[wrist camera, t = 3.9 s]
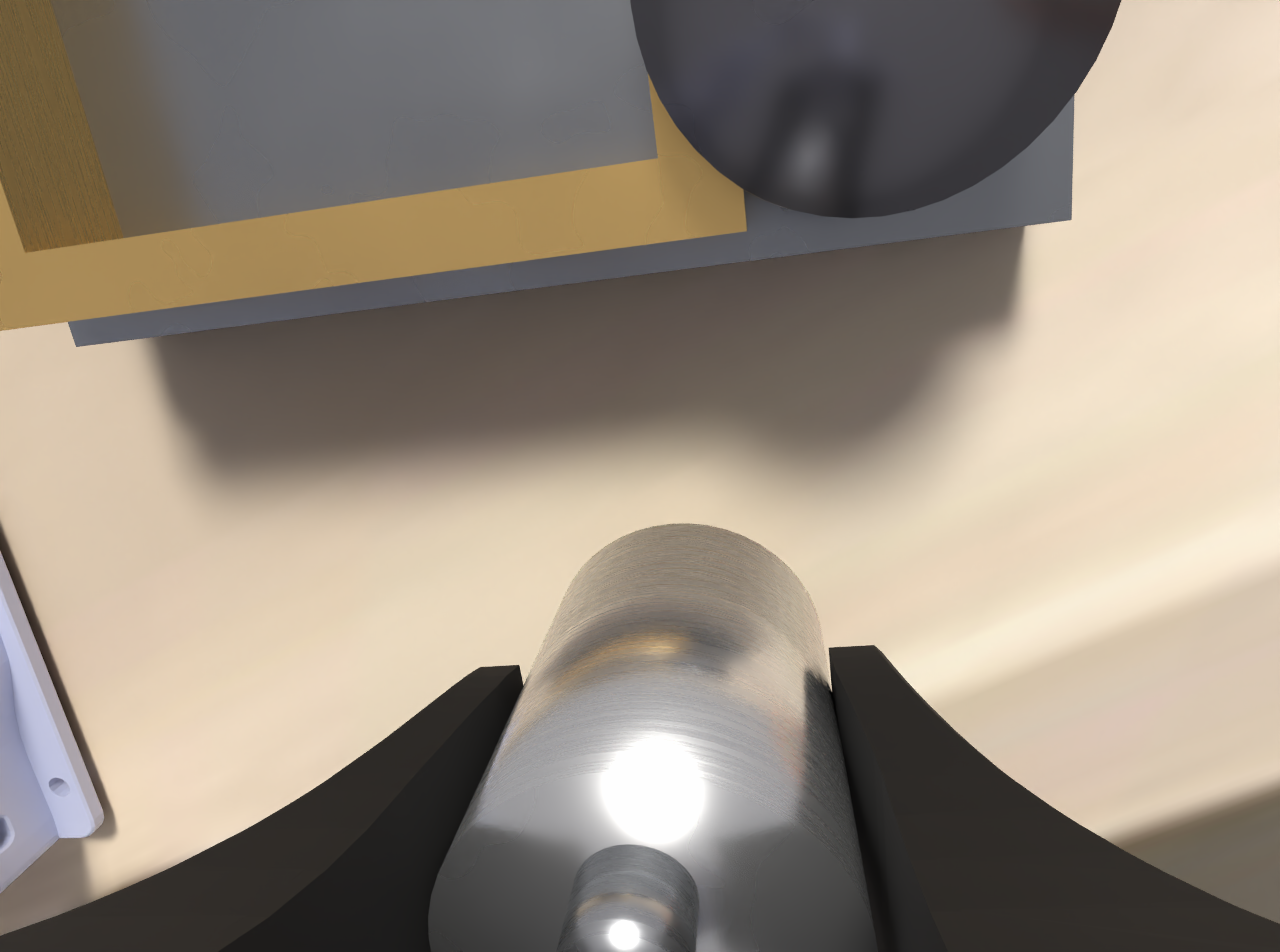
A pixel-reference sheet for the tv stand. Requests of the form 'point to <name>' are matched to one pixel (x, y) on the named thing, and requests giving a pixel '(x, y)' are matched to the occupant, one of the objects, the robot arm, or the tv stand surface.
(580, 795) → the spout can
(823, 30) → the grey piece
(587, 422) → the tv stand surface
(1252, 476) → the tv stand surface
